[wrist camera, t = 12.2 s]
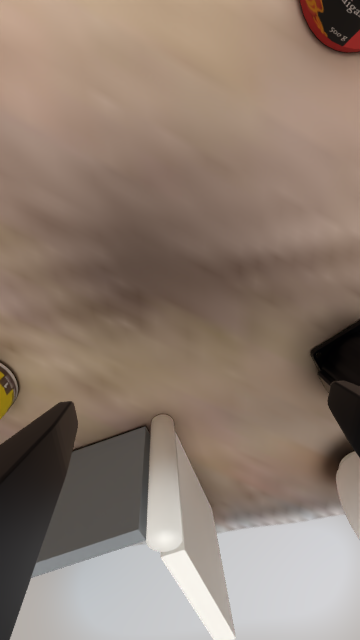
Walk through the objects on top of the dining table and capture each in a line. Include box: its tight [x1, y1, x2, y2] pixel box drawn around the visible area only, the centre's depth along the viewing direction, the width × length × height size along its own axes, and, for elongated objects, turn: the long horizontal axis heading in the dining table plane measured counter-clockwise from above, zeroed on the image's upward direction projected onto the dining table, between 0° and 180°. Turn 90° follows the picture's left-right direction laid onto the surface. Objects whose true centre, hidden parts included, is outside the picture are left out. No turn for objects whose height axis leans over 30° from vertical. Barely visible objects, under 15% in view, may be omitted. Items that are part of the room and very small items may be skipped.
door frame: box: [146, 414, 236, 640], centre depth 23 cm, size 2×14×10 cm, turn 20°
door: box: [31, 426, 150, 578], centre depth 21 cm, size 16×3×9 cm, turn 110°
